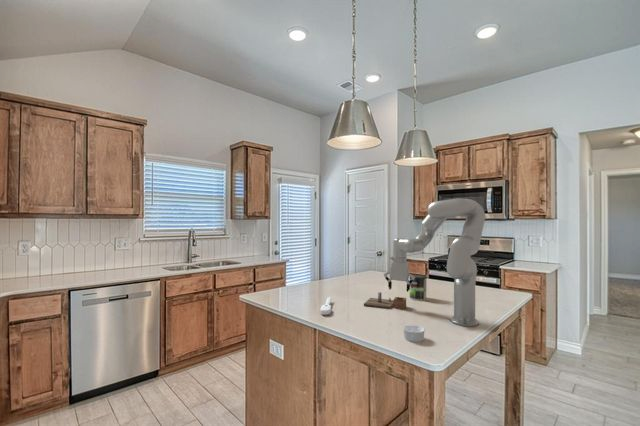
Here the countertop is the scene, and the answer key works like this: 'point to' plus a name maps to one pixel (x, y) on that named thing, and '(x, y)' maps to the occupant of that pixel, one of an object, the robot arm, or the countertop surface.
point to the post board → (379, 302)
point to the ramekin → (413, 333)
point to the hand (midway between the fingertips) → (398, 290)
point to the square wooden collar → (399, 303)
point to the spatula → (326, 307)
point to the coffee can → (418, 287)
